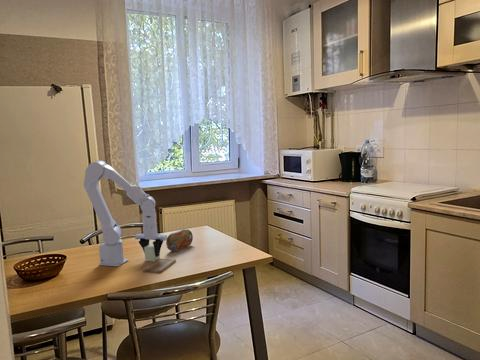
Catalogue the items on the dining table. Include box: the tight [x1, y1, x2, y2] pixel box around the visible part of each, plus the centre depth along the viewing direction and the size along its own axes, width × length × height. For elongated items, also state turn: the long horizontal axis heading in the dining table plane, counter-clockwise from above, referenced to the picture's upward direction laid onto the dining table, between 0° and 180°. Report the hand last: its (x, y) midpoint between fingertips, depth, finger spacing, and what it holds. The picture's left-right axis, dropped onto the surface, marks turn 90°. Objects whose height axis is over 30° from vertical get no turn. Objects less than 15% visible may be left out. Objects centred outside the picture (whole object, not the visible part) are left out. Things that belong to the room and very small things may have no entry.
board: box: [142, 258, 177, 274], centre depth 158 cm, size 8×13×2 cm, turn 162°
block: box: [144, 243, 161, 262], centre depth 166 cm, size 5×5×6 cm
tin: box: [165, 229, 194, 252], centre depth 180 cm, size 15×3×8 cm, turn 143°
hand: (152, 255), depth 166 cm, fingers closed on block, 4 cm apart
